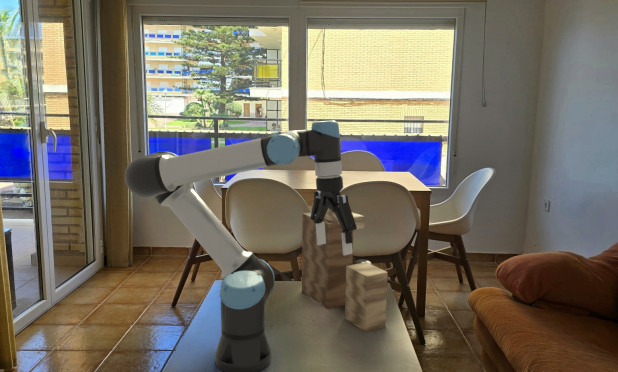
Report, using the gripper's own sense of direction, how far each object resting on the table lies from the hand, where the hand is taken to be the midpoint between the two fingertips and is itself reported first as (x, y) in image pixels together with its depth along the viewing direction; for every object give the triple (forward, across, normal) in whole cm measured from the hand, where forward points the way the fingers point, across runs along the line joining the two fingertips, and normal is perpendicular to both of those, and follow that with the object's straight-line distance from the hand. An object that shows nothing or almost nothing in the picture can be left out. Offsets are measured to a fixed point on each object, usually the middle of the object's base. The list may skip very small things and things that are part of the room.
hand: (334, 249), depth 136 cm
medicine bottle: (+29, +28, -29) cm, 50 cm away
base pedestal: (+29, +6, -14) cm, 33 cm away
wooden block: (-2, +22, -16) cm, 28 cm away
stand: (+28, +30, -14) cm, 43 cm away
